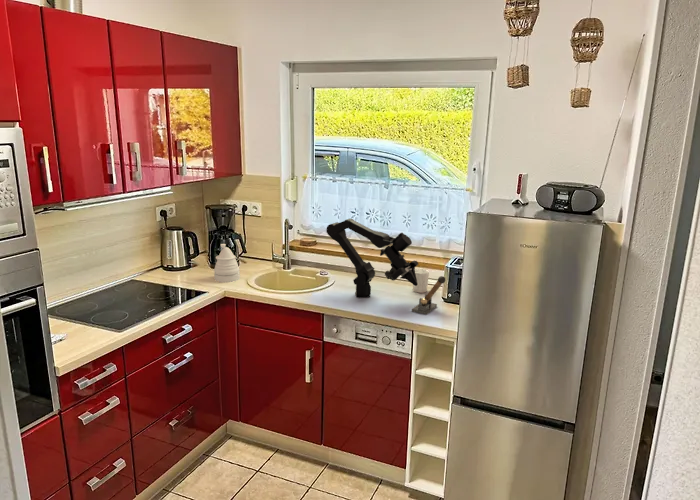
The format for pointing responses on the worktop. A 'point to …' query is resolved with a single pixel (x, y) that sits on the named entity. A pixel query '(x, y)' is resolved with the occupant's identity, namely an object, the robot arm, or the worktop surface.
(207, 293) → the worktop surface
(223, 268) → the honey pot
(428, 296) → the lever
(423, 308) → the press base
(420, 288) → the white cup
